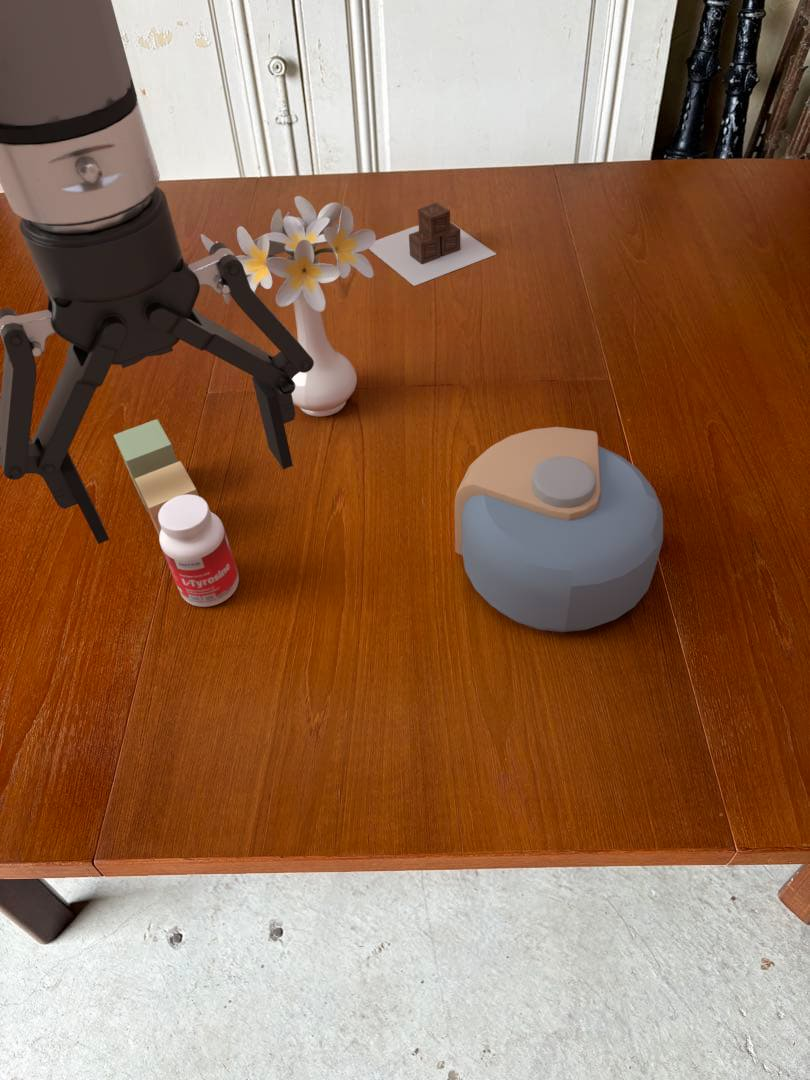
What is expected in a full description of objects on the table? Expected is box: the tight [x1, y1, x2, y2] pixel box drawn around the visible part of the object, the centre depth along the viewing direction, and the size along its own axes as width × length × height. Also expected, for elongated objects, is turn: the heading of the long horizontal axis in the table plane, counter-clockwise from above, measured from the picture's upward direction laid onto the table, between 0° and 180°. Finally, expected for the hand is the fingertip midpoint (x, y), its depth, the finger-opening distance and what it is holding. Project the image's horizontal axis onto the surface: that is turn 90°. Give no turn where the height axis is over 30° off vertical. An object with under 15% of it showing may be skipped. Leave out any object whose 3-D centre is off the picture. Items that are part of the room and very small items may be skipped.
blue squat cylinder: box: [454, 426, 664, 633], centre depth 79 cm, size 19×20×12 cm
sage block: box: [113, 418, 179, 514], centre depth 91 cm, size 5×5×8 cm
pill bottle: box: [158, 494, 240, 608], centre depth 80 cm, size 6×6×11 cm
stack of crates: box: [367, 201, 497, 287], centre depth 124 cm, size 15×15×7 cm
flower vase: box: [200, 195, 377, 418], centre depth 93 cm, size 13×18×25 cm
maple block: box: [135, 460, 200, 537], centre depth 86 cm, size 5×5×8 cm
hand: (193, 492), depth 58 cm, fingers open, 13 cm apart
